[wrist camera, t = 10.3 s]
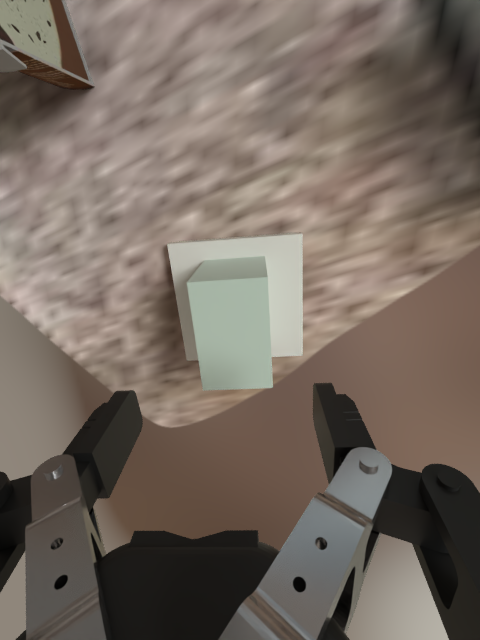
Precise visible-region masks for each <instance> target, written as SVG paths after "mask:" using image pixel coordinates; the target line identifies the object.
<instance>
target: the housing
mask: <svg viewBox="0 0 480 640" xmlns="http://www.w3.org/2000/svg"><path fill="white" fill-rule="evenodd" d="M187 288H188V294H189V301H190V307H191V314H192V321H193V327H194V334H195V341H196V347H197V354H198V360H199V367H200V374H201V380H202V387H203V390H228V389H255V388H273V380H272V358H271V336H270V314H269V293H268V275H267V268H266V261H265V256H257V257H243V258H229V259H215V260H204V262H203V263H202V264H201V265H200V267H199V268H198V269H197V270H196V272H195V273H194V274H193V275H192V277H191V278H190V279H189V280H188V281H187Z"/></svg>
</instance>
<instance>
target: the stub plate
mask: <svg viewBox="0 0 480 640" xmlns="http://www.w3.org/2000/svg"><path fill="white" fill-rule="evenodd" d="M167 247H168V253H169V259H170V264H171V270H172V276H173V282H174V288H175V294H176V300H177V306H178V312H179V318H180V324H181V330H182V336H183V342H184V348H185V353H186V359H187V361H193V360H198V354H197V347H196V341H195V334H194V327H193V321H192V314H191V307H190V301H189V294H188V288H187V281H188V280H189V279H190V278H191V277H192V275H193V274H194V273H195V272H196V270H197V269H198V268H199V267H200V265H201V264H202V263H203V262H204V260H215V259H229V258H243V257H257V256H265V261H266V268H267V275H268V293H269V314H270V336H271V357H281V356H303V307H302V233H301V232H296V233H283V234H270V235H257V236H244V237H231V238H218V239H205V240H192V241H179V242H170V243H168V244H167Z"/></svg>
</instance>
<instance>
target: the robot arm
mask: <svg viewBox="0 0 480 640" xmlns="http://www.w3.org/2000/svg"><path fill="white" fill-rule="evenodd" d="M313 420H314V426H315V430H316V434H317V438H318V442H319V446H320V450H321V454H322V458H323V462H324V466H325V470H326V474H327V478H328V482H329V486H328V488H327V489H326V491H325V492H324V494H321V493H317V494H316V495H315V496H314V498H313V499H312V501H311V502H310V504H309V506H308V507H307V509H306V510H305V512H304V514H303V515H302V517H301V518H300V520H299V522H298V523H297V525H296V526H295V528H294V530H293V531H292V533H291V535H290V536H289V538H288V539H287V541H286V542H285V544H284V546H283V547H282V549H281V550H280V551H278V550H277V549H275V548H274V547H272V546H270V545H267V544H265V543H262V542H259V539H258V531H256V530H254V531H252V530H251V531H249V530H247V531H245V530H244V531H223V532H220V533H217V534H213V535H209V536H206V537H202V538H199V539H189V538H186V537H182V536H179V535H176V534H173V533H169V532H166V531H134V534H133V536H132V539H131V542H130V543H128V544H125V545H122V546H120V547H118V548H116V549H114V550H112V551H111V552H109V553H108V554H106V552H105V548H104V544H103V540H102V536H101V532H100V528H99V524H98V520H97V516H96V512H95V509H94V506H93V505H94V503H95V502H96V500H97V498H109V497H110V495H111V493H112V490H113V488H114V486H115V484H116V482H117V480H118V478H119V476H120V474H121V472H122V469H123V468H124V465H125V463H126V461H127V459H128V457H129V455H130V453H131V451H132V448H133V447H134V445H135V442H136V440H137V438H138V436H139V434H140V432H141V428H142V415H141V411H140V407H139V404H138V400H137V396H136V393H135V391H133V390H130V391H116V392H115V393H114V394H113V396H112V397H111V398H110V400H109V402H108V403H103V404H102V405H101V406H100V407H98V408H97V409H96V410H94V412H93V413H92V414H91V416H90V417H89V418H88V421H86V422H85V424H84V425H83V427H82V429H80V431H79V432H78V434H77V435H76V436H75V437H74V439H73V440H72V442H71V443H70V444H69V446H68V447H67V449H66V450H65V451H64V453H63V454H62V455H58V456H55V457H52V458H50V459H48V460H47V461H45V462H44V463H42V464H41V465H40V466H39V467H38V468H37V469H36V470H35V471H34V473H33V474H32V475H30V476H27V477H23V478H19V479H16V480H12V481H10V480H9V479H8V477H7V475H6V474H5V473H4V472H0V592H1V591H2V589H3V587H4V585H5V584H6V582H7V580H8V579H9V577H10V575H11V573H12V572H13V570H14V568H15V567H16V565H17V563H18V562H19V560H20V558H21V557H22V555H23V553H24V551H25V553H26V556H25V557H26V630H25V631H24V632H23V633H22V634H21V635H20V636H19V637H18V638H17V639H16V640H349V638H348V637H347V636H346V633H347V630H348V628H349V625H350V622H351V620H352V617H353V614H354V611H355V608H356V605H357V602H358V599H359V595H360V591H361V587H362V584H363V581H364V578H365V575H366V573H367V570H368V567H369V565H370V562H371V560H372V557H373V554H374V551H375V549H376V546H377V544H378V541H379V538H380V535H381V533H382V534H386V535H388V536H391V537H395V538H398V539H401V540H404V541H407V542H410V543H412V544H413V547H414V549H415V552H416V555H417V557H418V560H419V562H420V565H421V568H422V570H423V573H424V575H425V578H426V581H427V583H428V586H429V588H430V591H431V593H432V596H433V599H434V601H435V604H436V607H437V609H438V612H439V614H440V617H441V620H442V622H443V625H444V627H445V630H446V632H447V635H448V638H449V640H480V493H479V492H478V490H477V488H476V487H475V486H474V484H473V483H472V481H471V480H470V479H469V478H468V477H467V476H466V475H464V474H463V473H462V472H460V471H458V470H456V469H455V468H452V467H450V466H447V465H442V464H430V465H428V466H426V467H425V468H424V469H423V470H422V473H420V472H416V471H412V470H407V469H403V468H400V467H397V466H395V465H393V464H391V463H390V461H389V460H388V459H387V458H386V457H385V456H384V455H383V454H382V453H380V452H379V451H377V450H376V448H375V446H374V444H373V441H372V439H371V437H370V435H369V433H368V431H367V428H366V426H365V424H364V422H363V421H362V418H361V416H360V413H359V412H358V409H357V407H356V405H355V403H354V401H353V400H351V399H350V398H349V397H348V396H347V395H346V394H337V395H336V392H335V390H334V387H333V385H332V383H314V385H313Z"/></svg>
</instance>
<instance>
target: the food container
mask: <svg viewBox="0 0 480 640" xmlns="http://www.w3.org/2000/svg"><path fill="white" fill-rule="evenodd" d="M14 71H19V72H22V73H24V74H27V75H29V76H32V77H35V78H37V79H40V80H43V81H45V82H48V83H51V84H53V85H56V86H59V87H62V88H67V89H73V90H78V89H88V88H92V87H94V84H93V81H92V78H91V75H90V72H89V69H88V66H87V64H86V61H85V58H84V55H83V52H82V49H81V46H80V43H79V40H78V37H77V34H76V31H75V28H74V25H73V22H72V19H71V16H70V14H69V11H68V8H67V5H66V2H65V0H0V72H14Z"/></svg>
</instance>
